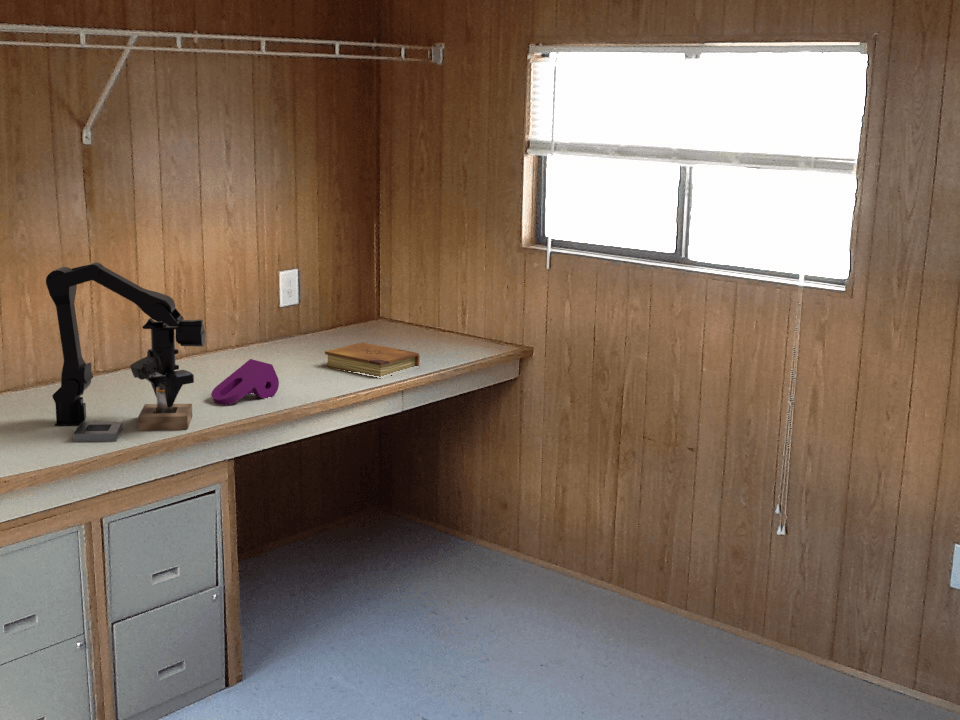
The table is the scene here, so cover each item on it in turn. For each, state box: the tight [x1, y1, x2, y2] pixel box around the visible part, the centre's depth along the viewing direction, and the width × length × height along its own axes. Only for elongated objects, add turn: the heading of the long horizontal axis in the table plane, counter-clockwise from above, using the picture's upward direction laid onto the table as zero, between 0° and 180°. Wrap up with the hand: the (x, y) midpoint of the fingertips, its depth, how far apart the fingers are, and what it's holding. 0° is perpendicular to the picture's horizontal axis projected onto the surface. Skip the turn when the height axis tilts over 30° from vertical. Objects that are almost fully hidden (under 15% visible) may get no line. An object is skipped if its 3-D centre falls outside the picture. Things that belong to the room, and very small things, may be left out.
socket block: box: [137, 403, 193, 431], centre depth 292 cm, size 12×12×4 cm
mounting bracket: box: [210, 358, 280, 406], centre depth 318 cm, size 9×8×18 cm
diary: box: [324, 342, 420, 377], centre depth 356 cm, size 23×19×6 cm
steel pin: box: [156, 385, 173, 413], centre depth 291 cm, size 4×4×8 cm
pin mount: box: [72, 421, 124, 443], centre depth 280 cm, size 10×10×2 cm
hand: (165, 405), depth 291 cm, fingers closed on steel pin, 4 cm apart
